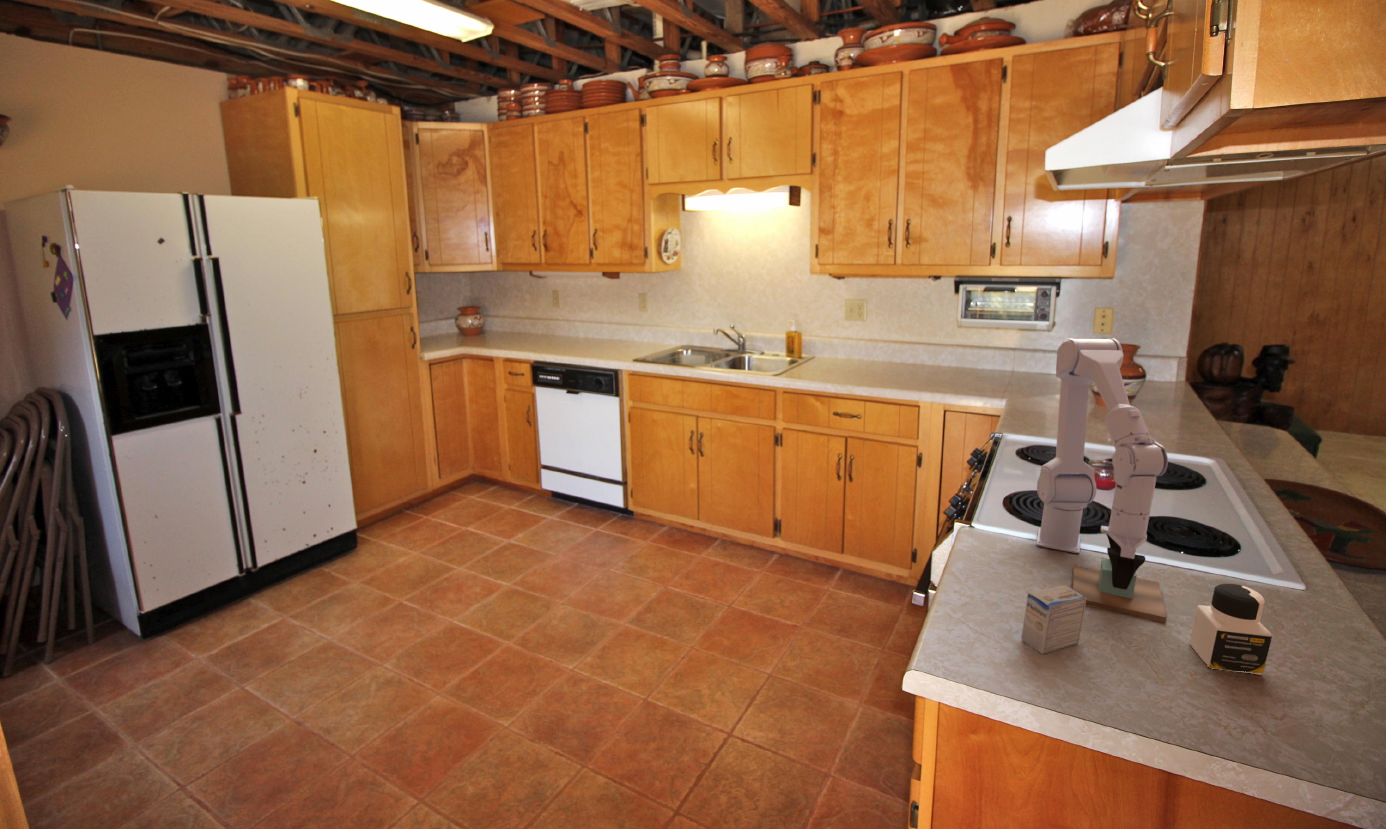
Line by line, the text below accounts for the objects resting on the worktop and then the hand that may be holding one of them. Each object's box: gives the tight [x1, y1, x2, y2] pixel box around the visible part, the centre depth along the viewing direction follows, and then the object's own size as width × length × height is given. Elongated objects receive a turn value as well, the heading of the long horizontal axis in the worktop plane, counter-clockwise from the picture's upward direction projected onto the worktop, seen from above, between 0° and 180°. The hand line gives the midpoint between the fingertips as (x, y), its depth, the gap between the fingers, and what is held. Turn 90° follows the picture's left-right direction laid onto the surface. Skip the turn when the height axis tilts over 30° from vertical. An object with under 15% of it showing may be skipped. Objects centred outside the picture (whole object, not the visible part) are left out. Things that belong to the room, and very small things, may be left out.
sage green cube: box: [1098, 557, 1138, 599], centre depth 126 cm, size 5×5×4 cm
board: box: [1072, 565, 1167, 624], centre depth 126 cm, size 14×14×1 cm
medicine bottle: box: [1189, 583, 1273, 674], centre depth 105 cm, size 7×7×12 cm
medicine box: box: [1021, 584, 1086, 655], centre depth 110 cm, size 8×4×9 cm, turn 111°
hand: (1118, 578), depth 125 cm, fingers open, 7 cm apart
